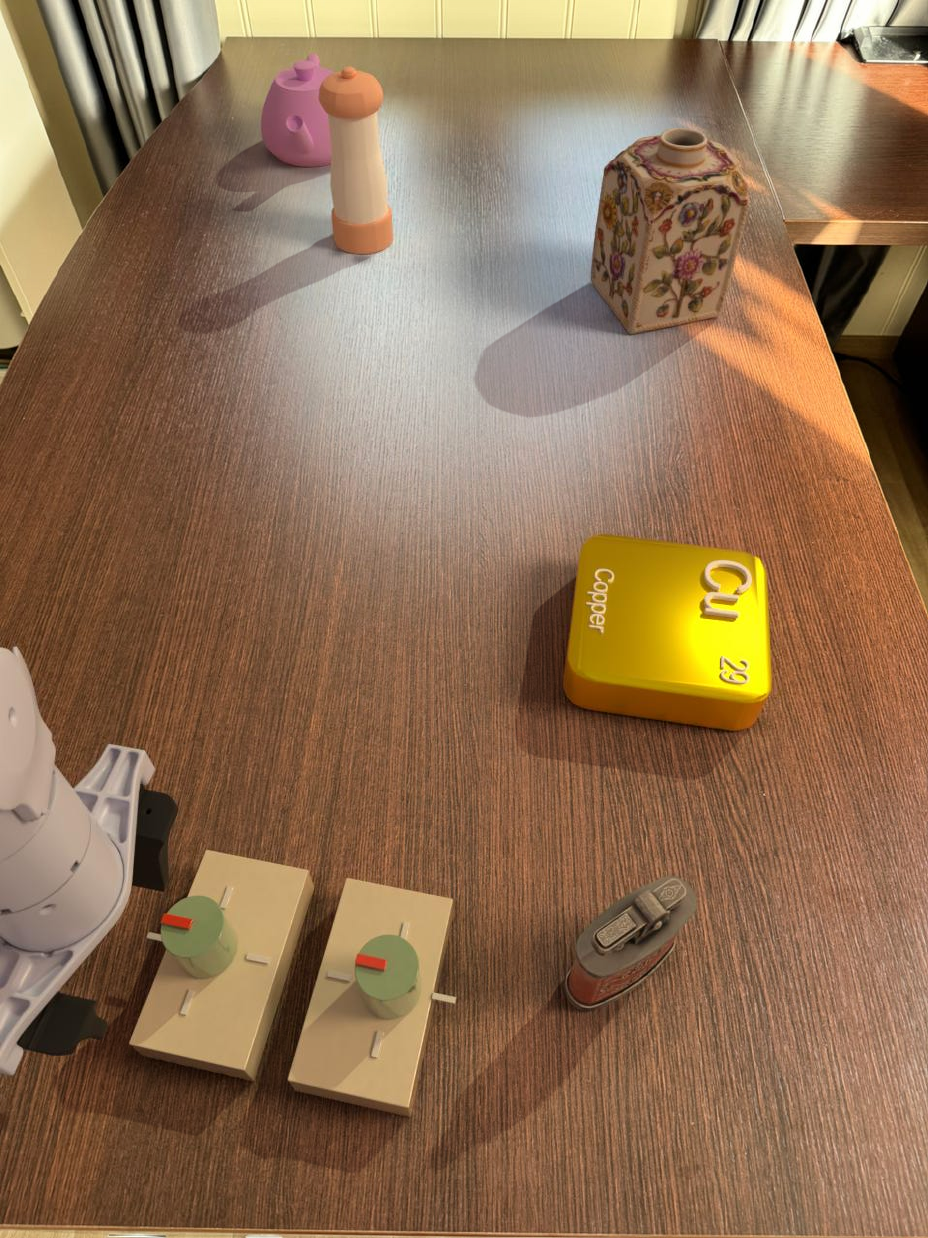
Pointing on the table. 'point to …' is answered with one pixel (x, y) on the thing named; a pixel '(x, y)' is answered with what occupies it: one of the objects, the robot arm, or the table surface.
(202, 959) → the green dial knob
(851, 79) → the table surface
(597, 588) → the element tile
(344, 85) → the pepper shaker
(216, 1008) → the tan base plate
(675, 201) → the decorative jar
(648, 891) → the lighter
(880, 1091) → the table surface
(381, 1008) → the knob
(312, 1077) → the dial knob base
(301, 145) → the teapot
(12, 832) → the robot arm
